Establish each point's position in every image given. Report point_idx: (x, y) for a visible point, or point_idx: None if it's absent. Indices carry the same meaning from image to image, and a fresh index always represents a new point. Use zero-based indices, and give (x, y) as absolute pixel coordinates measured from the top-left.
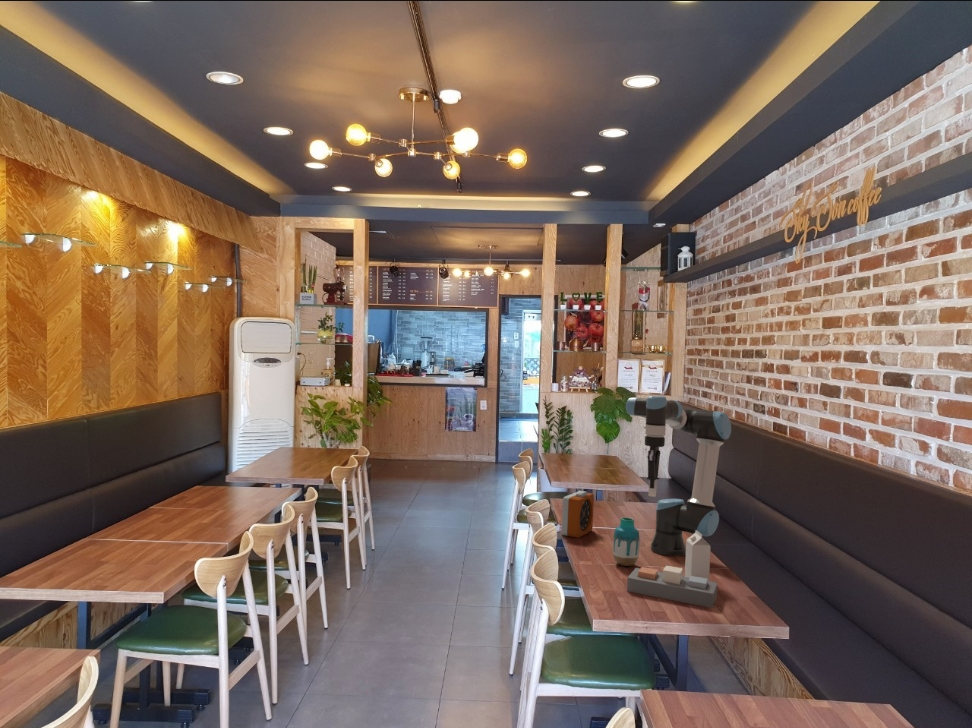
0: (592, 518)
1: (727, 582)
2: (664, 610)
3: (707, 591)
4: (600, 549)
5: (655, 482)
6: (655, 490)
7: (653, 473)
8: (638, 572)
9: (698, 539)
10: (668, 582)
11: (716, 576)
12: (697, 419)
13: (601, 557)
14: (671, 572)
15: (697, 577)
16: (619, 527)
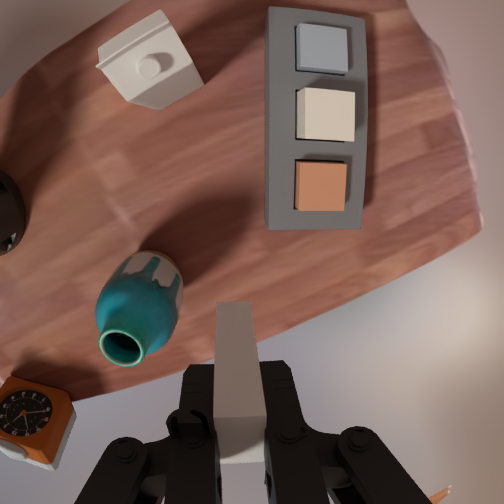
0: (1, 391)
1: (139, 15)
2: (416, 125)
3: (356, 30)
4: (91, 345)
5: (261, 398)
6: (253, 335)
7: (412, 488)
8: (343, 209)
9: (171, 40)
10: None
11: None
12: None
13: None
14: (353, 117)
15: (305, 49)
16: (148, 348)
